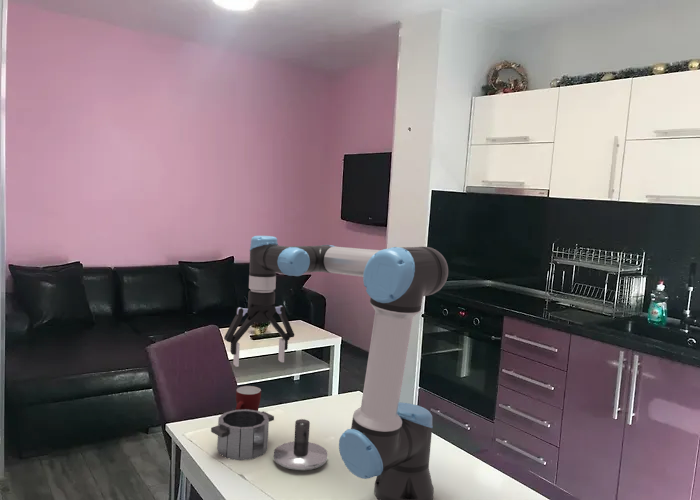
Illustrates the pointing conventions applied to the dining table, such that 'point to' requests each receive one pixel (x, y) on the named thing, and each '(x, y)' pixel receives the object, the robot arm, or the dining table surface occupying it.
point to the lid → (300, 450)
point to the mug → (248, 398)
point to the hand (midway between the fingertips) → (259, 363)
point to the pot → (242, 434)
